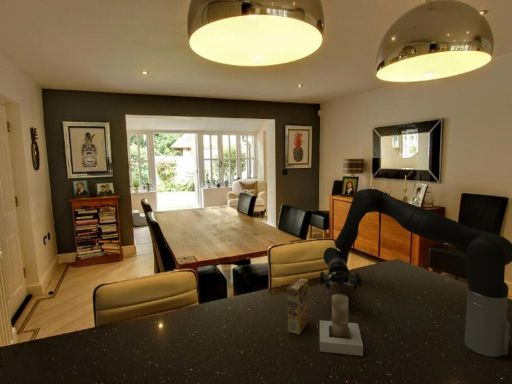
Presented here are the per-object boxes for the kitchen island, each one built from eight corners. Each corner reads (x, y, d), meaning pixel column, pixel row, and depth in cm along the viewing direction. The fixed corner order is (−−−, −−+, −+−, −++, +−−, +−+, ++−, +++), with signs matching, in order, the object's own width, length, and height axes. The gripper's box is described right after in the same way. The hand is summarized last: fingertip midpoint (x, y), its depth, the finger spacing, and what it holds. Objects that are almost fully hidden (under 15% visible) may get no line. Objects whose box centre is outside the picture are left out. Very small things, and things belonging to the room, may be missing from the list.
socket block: (357, 332, 98) (357, 323, 98) (362, 355, 86) (363, 346, 86) (319, 328, 100) (319, 320, 100) (319, 351, 89) (319, 341, 88)
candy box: (299, 335, 97) (299, 289, 95) (287, 332, 99) (286, 286, 97) (308, 322, 105) (308, 279, 103) (297, 319, 107) (297, 277, 105)
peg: (347, 337, 95) (347, 294, 94) (348, 346, 91) (349, 301, 89) (331, 336, 96) (331, 293, 95) (331, 345, 92) (332, 300, 90)
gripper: (319, 260, 120) (320, 275, 104) (357, 261, 117) (363, 277, 101) (319, 278, 121) (320, 296, 105) (357, 280, 118) (363, 298, 102)
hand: (341, 286), depth 103 cm, fingers open, 8 cm apart
